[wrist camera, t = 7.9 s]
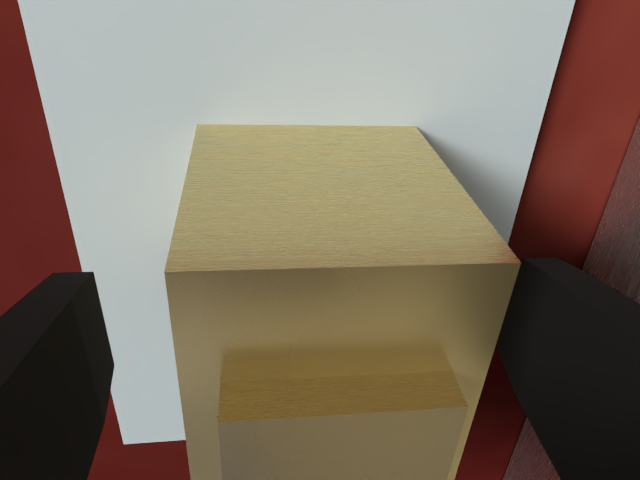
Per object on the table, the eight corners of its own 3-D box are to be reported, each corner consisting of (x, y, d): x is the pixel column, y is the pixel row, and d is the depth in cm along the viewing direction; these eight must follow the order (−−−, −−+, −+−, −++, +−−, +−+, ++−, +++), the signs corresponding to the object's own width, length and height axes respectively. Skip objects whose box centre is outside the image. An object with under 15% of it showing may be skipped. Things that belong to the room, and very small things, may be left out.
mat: (451, 403, 15) (458, 420, 15) (127, 424, 14) (123, 444, 14) (578, -86, 9) (598, -85, 8) (6, -117, 8) (-11, -119, 7)
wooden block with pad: (384, 328, 12) (457, 548, 8) (212, 336, 12) (194, 574, 8) (415, 126, 10) (546, 294, 6) (197, 124, 9) (155, 307, 5)
